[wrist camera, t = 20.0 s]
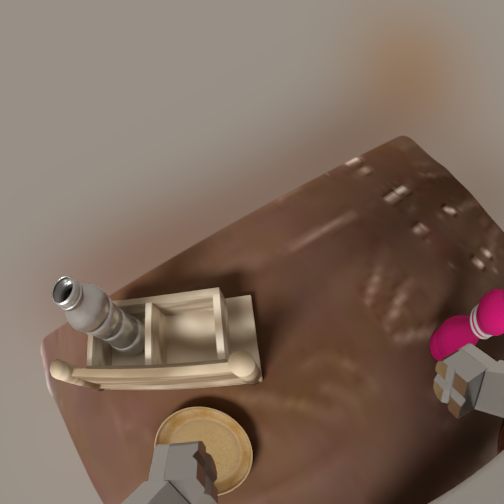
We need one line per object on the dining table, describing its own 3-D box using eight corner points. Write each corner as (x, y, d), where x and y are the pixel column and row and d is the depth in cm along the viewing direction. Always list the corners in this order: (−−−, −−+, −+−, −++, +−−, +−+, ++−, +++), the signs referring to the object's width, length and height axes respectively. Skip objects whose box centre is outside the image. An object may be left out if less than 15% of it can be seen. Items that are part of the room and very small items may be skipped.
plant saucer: (270, 431, 37) (270, 432, 35) (229, 507, 30) (226, 512, 28) (184, 391, 41) (179, 389, 39) (147, 463, 35) (140, 464, 33)
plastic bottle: (160, 344, 44) (91, 293, 27) (129, 365, 42) (49, 327, 25) (143, 314, 47) (76, 254, 30) (114, 335, 45) (39, 285, 28)
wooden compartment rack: (263, 383, 41) (255, 373, 31) (93, 390, 42) (49, 378, 31) (251, 298, 48) (241, 263, 38) (96, 317, 49) (58, 290, 39)
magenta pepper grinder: (420, 336, 41) (485, 284, 24) (449, 319, 42) (514, 263, 25) (436, 373, 37) (512, 339, 20) (465, 353, 38) (539, 310, 21)
